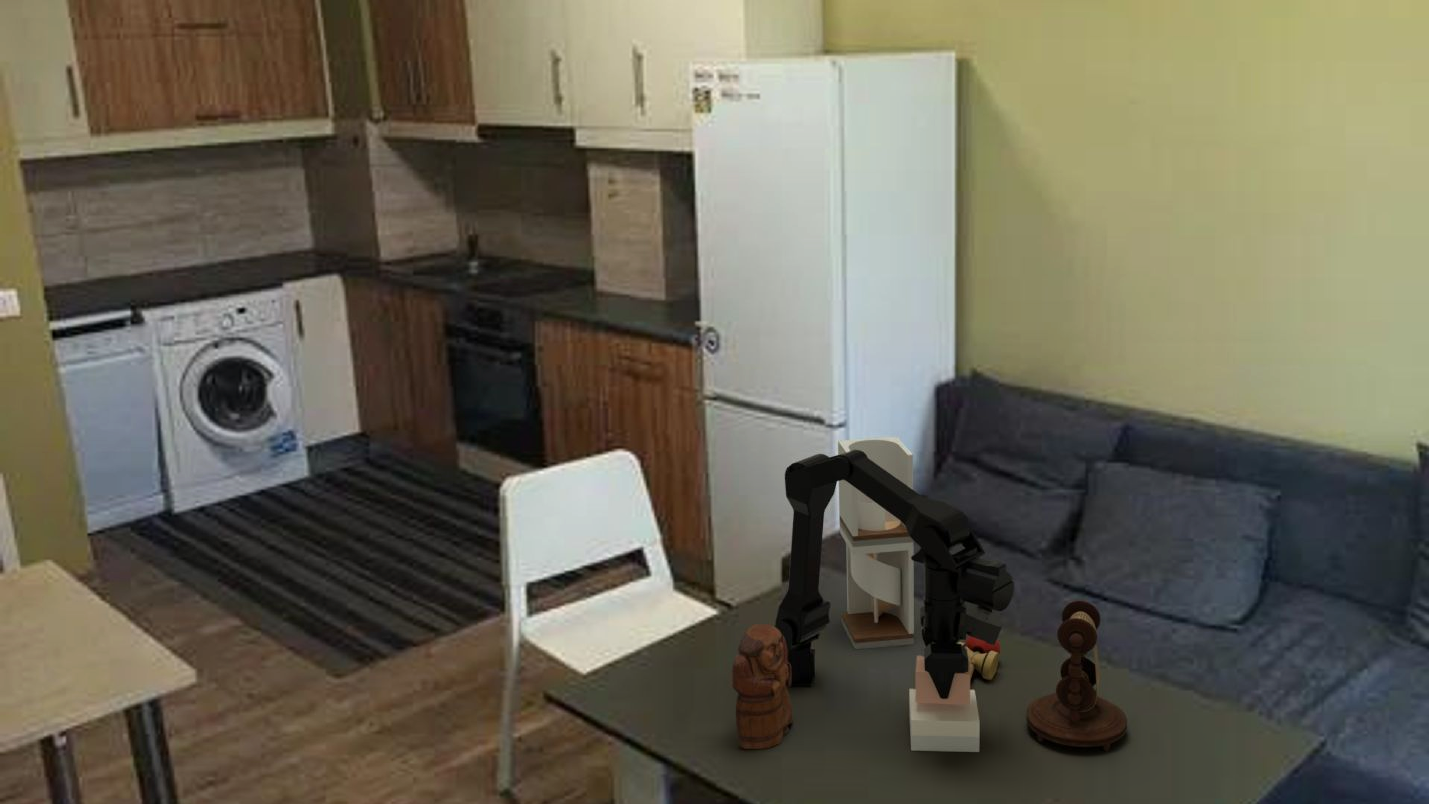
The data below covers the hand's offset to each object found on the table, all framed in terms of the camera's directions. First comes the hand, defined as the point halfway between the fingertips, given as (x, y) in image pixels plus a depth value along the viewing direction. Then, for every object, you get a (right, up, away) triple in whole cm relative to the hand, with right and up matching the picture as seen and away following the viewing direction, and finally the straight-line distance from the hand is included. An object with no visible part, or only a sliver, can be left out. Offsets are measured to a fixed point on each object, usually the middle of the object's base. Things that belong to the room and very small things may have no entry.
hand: (943, 689), depth 195 cm
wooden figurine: (-26, -8, +4) cm, 28 cm away
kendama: (+8, -3, +19) cm, 21 cm away
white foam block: (0, -7, +2) cm, 8 cm away
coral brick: (0, -1, 0) cm, 1 cm away
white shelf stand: (-5, +1, +38) cm, 38 cm away
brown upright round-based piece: (+20, -7, +1) cm, 22 cm away
